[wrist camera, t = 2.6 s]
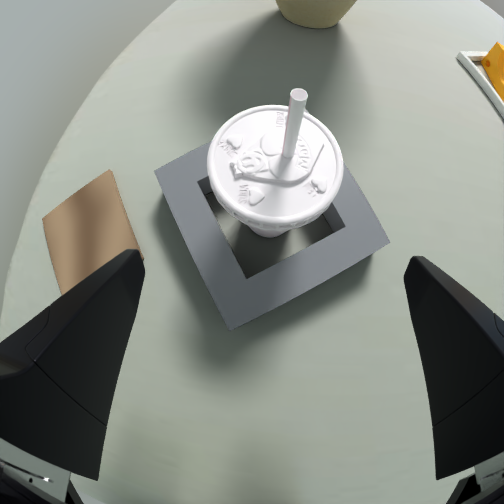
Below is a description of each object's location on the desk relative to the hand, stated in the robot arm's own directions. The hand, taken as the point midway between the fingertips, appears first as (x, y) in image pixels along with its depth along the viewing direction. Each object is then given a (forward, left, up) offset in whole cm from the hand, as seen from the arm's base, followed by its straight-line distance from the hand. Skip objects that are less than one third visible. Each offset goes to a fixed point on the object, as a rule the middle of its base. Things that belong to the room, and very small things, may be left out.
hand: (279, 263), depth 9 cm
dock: (+2, +4, -12) cm, 14 cm away
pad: (-13, +10, -12) cm, 21 cm away
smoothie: (+2, +4, -13) cm, 14 cm away
